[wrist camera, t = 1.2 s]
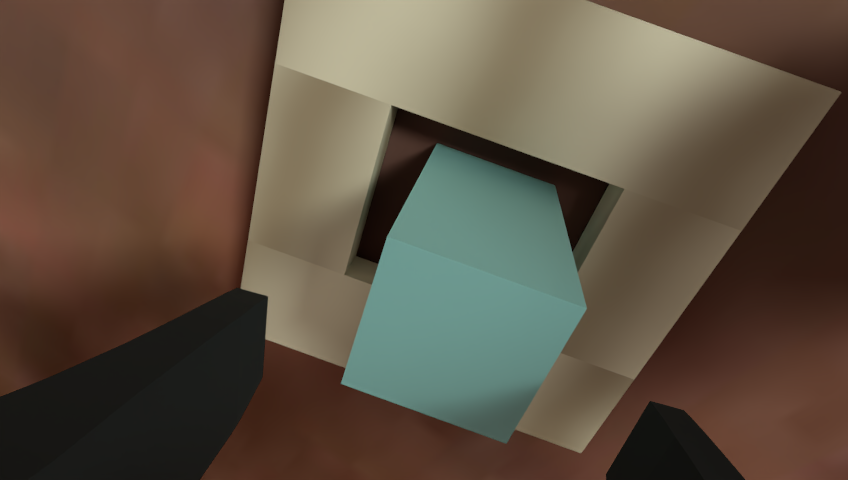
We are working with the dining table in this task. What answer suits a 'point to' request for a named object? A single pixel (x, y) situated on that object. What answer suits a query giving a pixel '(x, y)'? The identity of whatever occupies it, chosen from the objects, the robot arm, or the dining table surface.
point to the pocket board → (529, 133)
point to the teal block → (469, 297)
